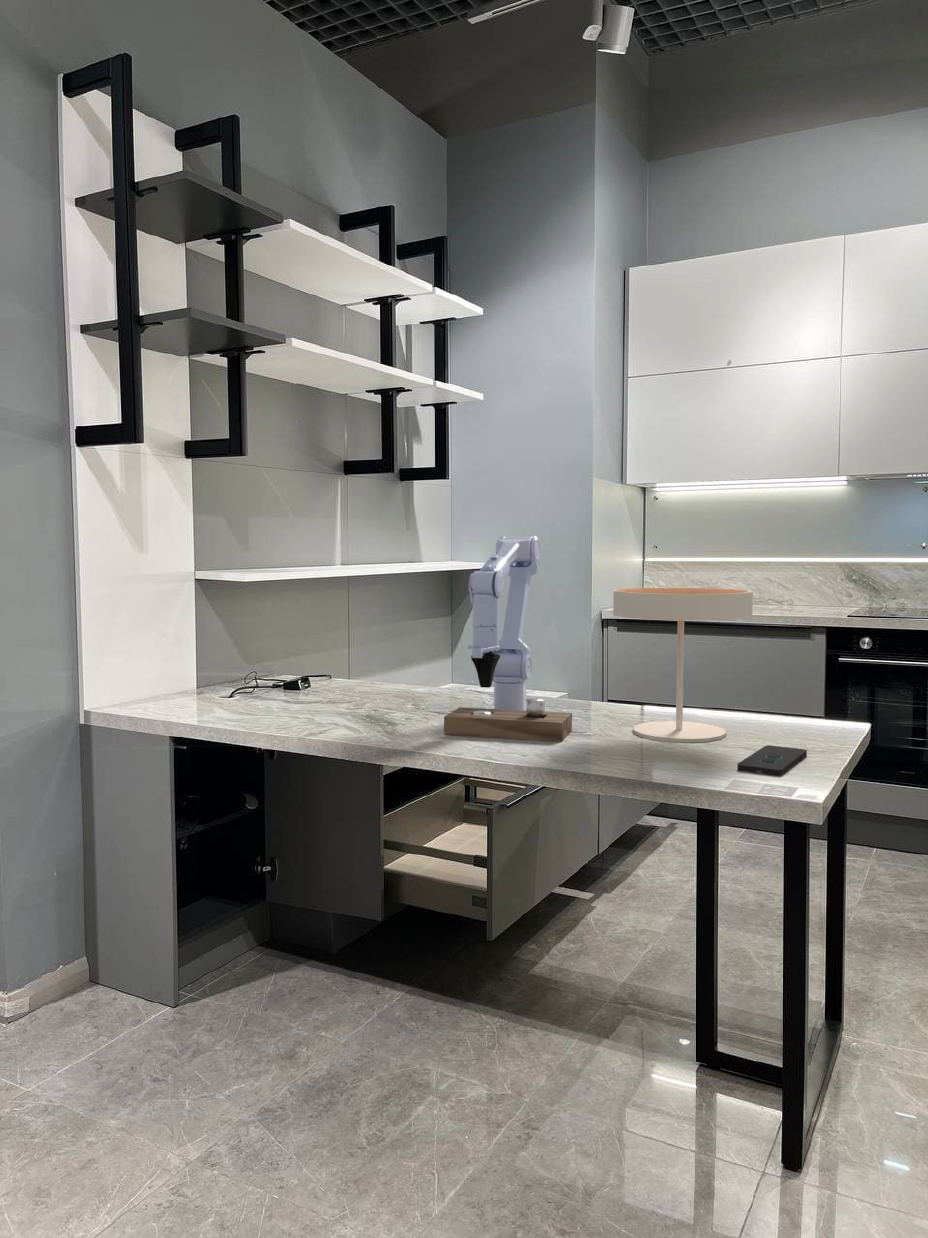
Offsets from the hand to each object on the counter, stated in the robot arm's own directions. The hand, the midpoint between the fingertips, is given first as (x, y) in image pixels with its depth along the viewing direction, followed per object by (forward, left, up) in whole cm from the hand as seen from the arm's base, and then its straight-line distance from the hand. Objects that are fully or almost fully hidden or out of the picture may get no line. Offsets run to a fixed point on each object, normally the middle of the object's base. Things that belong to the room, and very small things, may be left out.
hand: (485, 687), depth 207 cm
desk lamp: (-10, +41, -10) cm, 44 cm away
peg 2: (0, +11, -6) cm, 13 cm away
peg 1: (0, -1, -10) cm, 10 cm away
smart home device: (+14, +60, -11) cm, 63 cm away
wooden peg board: (0, +5, -10) cm, 11 cm away
